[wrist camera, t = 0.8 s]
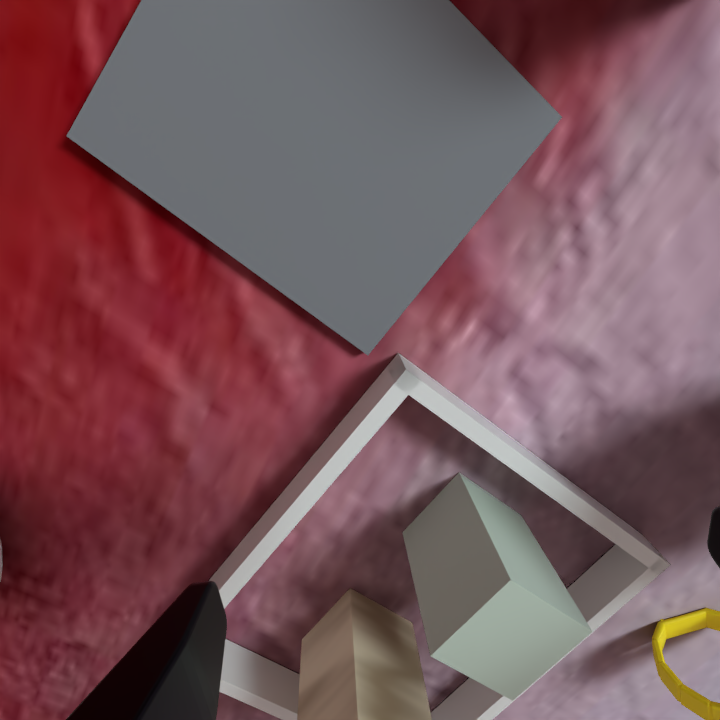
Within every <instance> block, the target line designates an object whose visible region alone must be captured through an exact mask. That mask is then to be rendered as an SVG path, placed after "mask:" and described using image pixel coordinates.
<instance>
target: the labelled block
mask: <svg viewBox="0 0 720 720" xmlns="http://www.w3.org/2000/svg"><path fill="white" fill-rule="evenodd" d="M297 720H432V718H431V713H430V708H429V703H428V698H427V693H426V688H425V683H424V678H423V673H422V668H421V663H420V658H419V653H418V648H417V644H416V639H415V634H414V629H413V624H412V622H410V621H408V620H406V619H405V618H403V617H401V616H399V615H398V614H396V613H394V612H392V611H390V610H389V609H387V608H385V607H383V606H381V605H380V604H378V603H376V602H374V601H372V600H371V599H369V598H367V597H365V596H363V595H362V594H360V593H358V592H356V591H354V590H353V589H351V588H350V589H349V590H348V591H347V592H346V593H345V594H344V595H343V596H342V597H341V598H340V599H339V600H338V602H337V603H336V604H335V605H334V606H333V607H332V608H331V609H330V610H329V611H328V612H327V613H326V614H325V615H324V616H323V618H322V619H321V620H320V621H319V622H318V623H317V624H316V625H315V626H314V627H313V628H312V629H311V630H310V631H309V632H308V633H307V635H306V636H305V637H304V638H303V639H302V645H301V663H300V680H299V697H298V715H297Z"/></svg>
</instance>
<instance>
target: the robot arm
mask: <svg viewBox="0 0 720 720" xmlns="http://www.w3.org/2000/svg"><path fill="white" fill-rule="evenodd" d="M707 544H708V549H709V552H710V554H711V556H712V558H713V559H714V561H715V562H716V564H717V565H718V566H719V568H720V506H718V507H716V508H715V509H714V510H713V511H712V515H711V521H710V528H709V535H708V542H707ZM226 630H227V619H226V614H225V610H224V607H223V603H222V600H221V597H220V593H219V590H218V587H217V584H216V583H215V582H214V581H205V582H198V583H193V584H191V585H189V586H188V587H187V588H186V589H185V590H184V591H183V593H182V594H181V595H180V596H179V597H178V598H177V599H176V600H175V601H174V602H173V603H172V605H171V606H170V607H169V608H168V609H167V610H166V611H165V612H164V613H163V614H162V615H161V617H160V618H159V619H158V620H157V621H156V622H155V623H154V624H153V625H152V626H151V627H150V628H149V630H148V631H147V632H146V633H145V634H144V635H143V636H142V637H141V638H140V639H139V640H138V642H137V643H136V644H135V645H134V646H133V647H132V648H131V649H130V650H129V651H128V652H127V654H126V655H125V656H124V657H123V658H122V659H121V660H120V661H119V662H118V663H117V664H116V665H115V667H114V668H113V669H112V670H111V671H110V672H109V673H108V674H107V675H106V676H105V677H104V679H103V680H102V681H101V682H100V683H99V684H98V685H97V686H96V687H95V688H94V689H93V691H92V692H91V693H90V694H89V695H88V696H87V697H86V698H85V699H84V700H83V701H82V702H81V704H80V705H79V706H78V707H77V708H76V709H75V710H74V711H73V712H72V713H71V714H70V716H69V717H68V718H67V719H66V720H216V715H217V707H218V698H219V690H220V681H221V673H222V664H223V656H224V647H225V639H226Z"/></svg>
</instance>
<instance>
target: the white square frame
mask: <svg viewBox="0 0 720 720" xmlns="http://www.w3.org/2000/svg"><path fill="white" fill-rule="evenodd" d="M408 395H409V396H411V397H412V398H414V399H415V400H416V401H418V402H419V403H421V404H422V405H423V406H425V407H426V408H427V409H429V410H430V411H432V412H433V413H434V414H436V415H437V416H439V417H440V418H441V419H443V420H444V421H446V422H447V423H448V424H450V425H451V426H452V427H454V428H455V429H457V430H458V431H459V432H461V433H462V434H464V435H465V436H466V437H468V438H469V439H471V440H472V441H473V442H475V443H476V444H477V445H479V446H480V447H482V448H483V449H484V450H486V451H487V452H489V453H490V454H491V455H493V456H494V457H496V458H497V459H498V460H500V461H501V462H502V463H504V464H505V465H507V466H508V467H509V468H511V469H512V470H514V471H515V472H516V473H518V474H519V475H520V476H522V477H523V478H525V479H526V480H527V481H529V482H530V483H532V484H533V485H534V486H536V487H537V488H539V489H540V490H541V491H543V492H544V493H545V494H547V495H548V496H550V497H551V498H552V499H554V500H555V501H557V502H558V503H559V504H561V505H562V506H564V507H565V508H566V509H568V510H569V511H570V512H572V513H573V514H575V515H576V516H577V517H579V518H580V519H582V520H583V521H584V522H586V523H587V524H588V525H590V526H591V527H593V528H594V529H595V530H597V531H598V532H600V533H601V534H602V535H604V536H605V537H607V538H608V539H609V540H611V541H612V542H613V543H615V545H614V546H613V547H612V548H611V549H610V550H609V551H608V552H607V553H606V554H605V555H603V556H602V557H601V558H600V559H599V560H598V561H597V562H596V563H595V564H594V565H592V566H591V567H590V568H589V569H588V570H587V571H586V572H585V573H584V574H583V575H581V576H580V577H579V578H578V579H577V580H576V581H575V582H574V583H573V584H572V585H571V586H569V587H568V588H567V591H568V592H569V594H570V596H571V597H572V599H573V600H574V602H575V604H576V605H577V607H578V609H579V610H580V612H581V613H582V615H583V617H584V618H585V620H586V622H587V623H588V625H589V626H590V628H591V630H592V631H593V632H594V631H595V630H596V629H597V628H599V627H600V626H601V625H602V624H603V623H604V622H605V621H607V620H608V619H609V618H610V617H611V616H612V615H614V614H615V613H616V612H617V611H618V610H619V609H620V608H622V607H623V606H624V605H625V604H626V603H627V602H628V601H630V600H631V599H632V598H633V597H634V596H635V595H637V594H638V593H639V592H640V591H641V590H642V589H643V588H645V587H646V586H647V585H648V584H649V583H650V582H652V581H653V580H654V579H655V578H656V577H657V576H658V575H660V574H661V573H662V572H663V571H664V570H665V569H667V568H668V567H669V566H670V565H671V564H670V563H669V562H668V561H667V560H666V559H665V558H664V557H663V556H662V555H661V554H660V553H659V552H658V551H657V550H656V549H655V548H654V546H653V545H652V544H651V543H650V542H649V541H648V540H647V539H646V538H645V537H644V536H643V535H642V534H641V533H639V532H638V531H637V530H635V529H634V528H633V527H631V526H630V525H629V524H627V523H626V522H625V521H623V520H622V519H621V518H619V517H618V516H616V515H615V514H614V513H612V512H611V511H610V510H608V509H607V508H606V507H604V506H603V505H602V504H600V503H599V502H598V501H596V500H595V499H594V498H592V497H591V496H590V495H588V494H587V493H586V492H584V491H583V490H582V489H580V488H579V487H578V486H576V485H575V484H574V483H572V482H571V481H570V480H568V479H567V478H565V477H564V476H563V475H561V474H560V473H559V472H557V471H556V470H555V469H553V468H552V467H551V466H549V465H548V464H547V463H545V462H544V461H543V460H541V459H540V458H539V457H537V456H536V455H535V454H533V453H532V452H531V451H529V450H528V449H527V448H525V447H524V446H523V445H521V444H520V443H519V442H517V441H516V440H514V439H513V438H512V437H510V436H509V435H508V434H506V433H505V432H504V431H502V430H501V429H500V428H498V427H497V426H496V425H494V424H493V423H492V422H490V421H489V420H488V419H486V418H485V417H484V416H482V415H481V414H480V413H478V412H477V411H476V410H474V409H473V408H472V407H470V406H469V405H468V404H466V403H465V402H464V401H462V400H461V399H459V398H458V397H457V396H455V395H454V394H453V393H451V392H450V391H449V390H447V389H446V388H445V387H443V386H442V385H441V384H439V383H438V382H437V381H435V380H434V379H433V378H431V377H430V376H429V375H427V374H426V373H425V372H423V371H422V370H421V369H419V368H418V367H417V366H415V365H414V364H413V363H411V362H410V361H408V360H407V359H406V358H404V357H403V356H402V355H400V354H399V353H398V354H397V355H396V356H395V357H394V359H393V360H392V361H391V362H390V363H389V365H388V366H387V367H386V368H385V369H384V371H383V372H382V373H381V374H380V375H379V377H378V378H377V379H376V380H375V381H374V383H373V384H372V385H371V386H370V387H369V389H368V390H367V391H366V392H365V393H364V395H363V396H362V397H361V398H360V399H359V401H358V402H357V403H356V404H355V405H354V407H353V408H352V409H351V410H350V411H349V413H348V414H347V415H346V416H345V417H344V419H343V420H342V421H341V422H340V423H339V425H338V426H337V427H336V428H335V429H334V431H333V432H332V433H331V434H330V435H329V437H328V438H327V439H326V440H325V441H324V443H323V444H322V445H321V446H320V447H319V449H318V450H317V451H316V452H315V453H314V455H313V456H312V457H311V458H310V459H309V461H308V462H307V463H306V464H305V465H304V467H303V468H302V469H301V470H300V471H299V473H298V474H297V475H296V476H295V478H294V479H293V480H292V481H291V482H290V484H289V485H288V486H287V487H286V488H285V490H284V491H283V492H282V493H281V494H280V496H279V497H278V498H277V499H276V500H275V502H274V503H273V504H272V505H271V506H270V508H269V509H268V510H267V511H266V512H265V514H264V515H263V516H262V517H261V518H260V520H259V521H258V522H257V523H256V524H255V526H254V527H253V528H252V529H251V530H250V532H249V533H248V534H247V535H246V536H245V538H244V539H243V540H242V541H241V542H240V544H239V545H238V546H237V547H236V548H235V550H234V551H233V552H232V553H231V554H230V556H229V557H228V558H227V559H226V560H225V562H224V563H223V564H222V565H221V566H220V568H219V569H218V570H217V571H216V572H215V574H214V575H213V576H212V577H211V578H210V580H209V581H214V582H215V583H216V584H217V587H218V590H219V593H220V597H221V600H222V603H223V607H224V608H225V607H226V606H227V605H228V604H229V603H230V601H231V600H232V599H233V598H234V597H235V596H236V594H237V593H238V592H239V591H240V590H241V589H242V587H243V586H244V585H245V584H246V583H247V582H248V581H249V579H250V578H251V577H252V576H253V575H254V574H255V572H256V571H257V570H258V569H259V568H260V567H261V565H262V564H263V563H264V562H265V561H266V560H267V558H268V557H269V556H270V555H271V554H272V553H273V551H274V550H275V549H276V548H277V547H278V546H279V545H280V543H281V542H282V541H283V540H284V539H285V538H286V536H287V535H288V534H289V533H290V532H291V531H292V529H293V528H294V527H295V526H296V525H297V524H298V522H299V521H300V520H301V519H302V518H303V517H304V515H305V514H306V513H307V512H308V511H309V510H310V509H311V507H312V506H313V505H314V504H315V503H316V502H317V500H318V499H319V498H320V497H321V496H322V495H323V493H324V492H325V491H326V490H327V489H328V488H329V486H330V485H331V484H332V483H333V482H334V481H335V480H336V478H337V477H338V476H339V475H340V474H341V473H342V471H343V470H344V469H345V468H346V467H347V466H348V464H349V463H350V462H351V461H352V460H353V459H354V457H355V456H356V455H357V454H358V453H359V452H360V450H361V449H362V448H363V447H364V446H365V445H366V444H367V442H368V441H369V440H370V439H371V438H372V437H373V435H374V434H375V433H376V432H377V431H378V430H379V428H380V427H381V426H382V425H383V424H384V423H385V421H386V420H387V419H388V418H389V417H390V416H391V414H392V413H393V412H394V411H395V410H396V409H397V408H398V406H399V405H400V404H401V403H402V402H403V401H404V399H405V398H406V397H407V396H408ZM593 632H591V633H590V634H592V633H593ZM590 634H589V635H590ZM589 635H588V636H589ZM588 636H587V637H588ZM587 637H586V638H587ZM586 638H584V639H583V640H582V641H584V640H585V639H586ZM582 641H581V642H582ZM581 642H580V643H581ZM580 643H579V644H580ZM579 644H578V645H579ZM578 645H576V646H575V647H577V646H578ZM575 647H574V648H575ZM574 648H573V649H574ZM573 649H572V650H573ZM572 650H571V651H572ZM571 651H569V652H568V653H567V654H569V653H570V652H571ZM567 654H566V655H567ZM566 655H565V656H566ZM565 656H564V657H565ZM564 657H563V658H564ZM563 658H561V659H560V660H562V659H563ZM560 660H559V661H560ZM559 661H558V662H559ZM558 662H557V663H558ZM557 663H556V664H557ZM556 664H554V665H553V666H552V667H554V666H555V665H556ZM552 667H551V668H552ZM551 668H550V669H551ZM550 669H549V670H550ZM549 670H547V671H546V672H545V673H547V672H548V671H549ZM545 673H544V674H545ZM544 674H543V675H544ZM543 675H542V676H543ZM542 676H541V677H542ZM541 677H539V678H538V679H537V680H539V679H540V678H541ZM299 680H300V674H297V673H295V672H293V671H291V670H289V669H287V668H285V667H283V666H281V665H279V664H277V663H275V662H273V661H270V660H268V659H266V658H264V657H262V656H260V655H258V654H256V653H254V652H252V651H250V650H248V649H246V648H243V647H241V646H239V645H237V644H235V643H233V642H231V641H229V640H227V639H225V647H224V656H223V664H222V673H221V681H220V690H219V692H221V693H224V694H226V695H228V696H230V697H233V698H235V699H237V700H239V701H242V702H244V703H246V704H248V705H251V706H253V707H255V708H257V709H259V710H262V711H264V712H266V713H268V714H271V715H273V716H275V717H277V718H280V719H282V720H297V715H298V697H299ZM537 680H536V681H537ZM536 681H535V682H536ZM535 682H534V683H535ZM534 683H532V684H531V685H530V686H532V685H533V684H534ZM530 686H529V687H530ZM529 687H528V688H529ZM528 688H527V689H528ZM527 689H526V690H527ZM526 690H524V691H523V692H522V693H524V692H525V691H526ZM522 693H521V694H522ZM521 694H520V695H521ZM520 695H519V696H520ZM519 696H517V697H516V698H515V699H514V700H516V699H517V698H518V697H519ZM514 700H513V701H514ZM513 701H512V700H510V699H509V698H507V697H505V696H503V695H501V694H499V693H497V692H496V691H494V690H492V689H490V688H488V687H486V686H485V685H483V684H481V683H479V682H477V681H475V680H473V679H472V678H468V679H467V680H466V681H465V682H464V683H463V684H462V685H461V686H460V687H459V688H457V689H456V690H455V691H454V692H453V693H452V694H451V695H450V696H449V697H448V698H446V699H445V700H444V701H443V702H442V703H441V704H440V705H439V706H438V707H437V708H436V709H434V710H433V711H432V712H431V718H432V720H492V719H494V718H495V717H496V716H497V715H498V714H499V713H501V712H502V711H503V710H504V709H505V708H506V707H507V706H509V705H510V704H511V703H512V702H513Z"/></svg>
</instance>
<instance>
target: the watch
mask: <svg viewBox="0 0 720 720" xmlns="http://www.w3.org/2000/svg"><path fill="white" fill-rule="evenodd" d="M706 627H707V628H711V629H714V630H718V631H720V611H716V610H712V609H708V608H704V609H701V610H698V611H694V612H691V613H687V614H684V615H681V616H677V617H672V618H669V619H666V620H663V619H661V620H660V621H659V622H658V623H657V626H656V628H655V631H654V634H653V636H652V647H653V655H654V659H655V663H656V667H657V671H658V675H659V676H660V677H661V680H662V682H663V683H664V684H665V685H666V687H667V688H668V689H669V691H670V692H671V693H672V694H673V696H674V697H675V698H676V699H677V701H679V702H681V704H682V705H683V706H685V707H686V708H688V709H690V710H691V711H693V712H694V713H696V714H697V715H699V716H700V717H702V718H703V719H705V720H720V703H717V702H713V701H710V700H708V699H707V698H705V697H703V696H702V695H700V694H699V693H697V692H695V691H694V690H692V689H690V688H689V687H687V686H686V685H684V684H683V683H682V682H681V681H680V680H679V679H678V677H677V676H676V675H675V674H674V673H673V671H672V670H671V669H670V668H669V667H668V665H667V664H666V663H665V661H664V657H663V653H662V650H663V648H664V645H665V642H666V639H669V638H672V637H676V636H679V635H682V634H686V633H689V632H693V631H696V630H699V629H703V628H706Z"/></svg>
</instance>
